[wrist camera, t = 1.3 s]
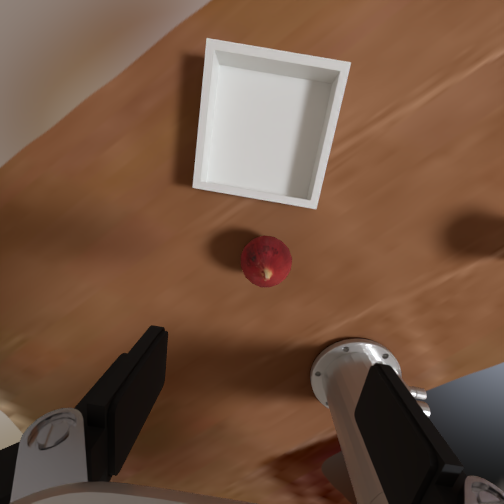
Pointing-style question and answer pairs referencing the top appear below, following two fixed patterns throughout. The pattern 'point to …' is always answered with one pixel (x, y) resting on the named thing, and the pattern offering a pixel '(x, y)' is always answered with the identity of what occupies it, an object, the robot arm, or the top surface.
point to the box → (267, 122)
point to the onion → (266, 261)
